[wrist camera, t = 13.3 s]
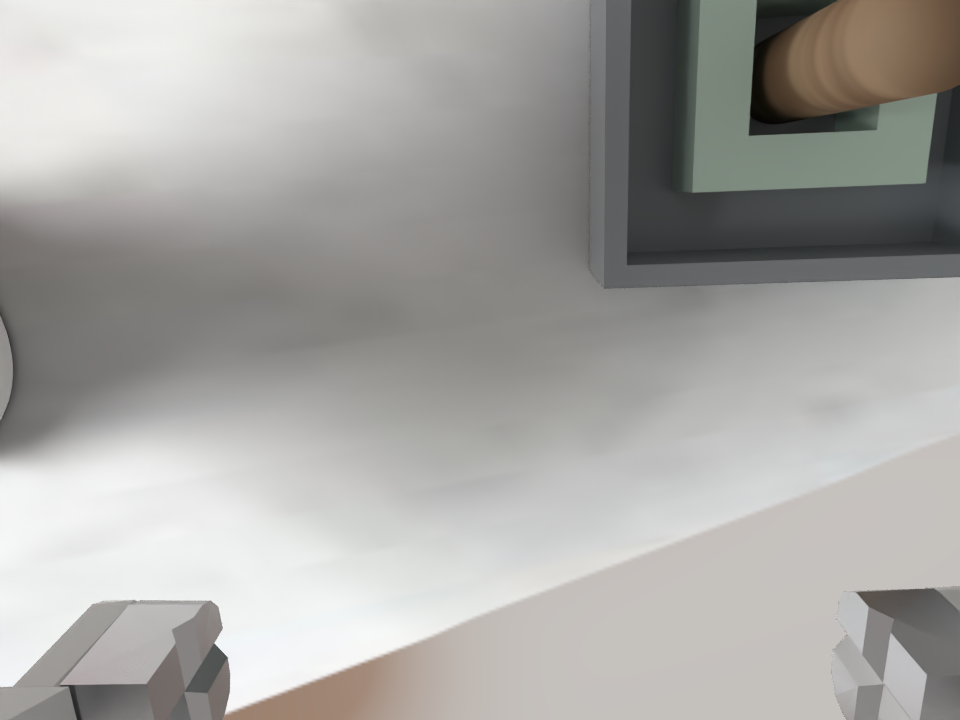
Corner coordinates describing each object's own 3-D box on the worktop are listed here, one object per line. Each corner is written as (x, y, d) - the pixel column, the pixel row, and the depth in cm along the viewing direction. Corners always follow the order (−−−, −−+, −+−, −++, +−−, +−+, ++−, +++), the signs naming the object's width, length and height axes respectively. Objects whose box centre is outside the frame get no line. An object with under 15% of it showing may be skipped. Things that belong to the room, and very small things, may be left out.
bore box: (589, 270, 36) (604, 288, 30) (590, -117, 31) (607, -184, 25) (937, 258, 35) (1022, 274, 29) (993, -144, 30) (1107, -219, 24)
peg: (733, 126, 33) (862, 96, 21) (739, 36, 32) (877, -47, 20) (817, 123, 32) (993, 91, 21) (825, 33, 31) (1015, -53, 20)
